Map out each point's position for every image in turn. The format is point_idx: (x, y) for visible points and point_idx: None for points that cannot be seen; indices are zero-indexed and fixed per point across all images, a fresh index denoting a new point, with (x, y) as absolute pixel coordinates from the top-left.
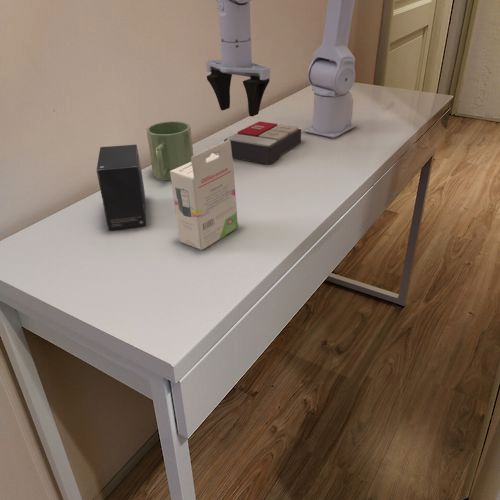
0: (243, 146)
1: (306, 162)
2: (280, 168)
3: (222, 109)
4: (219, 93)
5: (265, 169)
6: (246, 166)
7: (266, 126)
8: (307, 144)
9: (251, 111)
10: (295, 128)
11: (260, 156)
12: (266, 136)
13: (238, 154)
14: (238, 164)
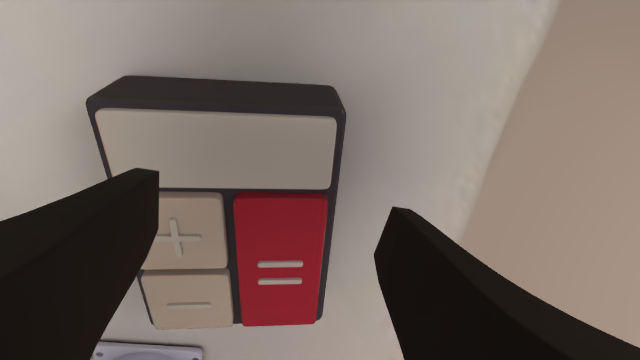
0: (237, 97)
1: (25, 157)
2: (64, 65)
3: (397, 209)
4: (454, 275)
5: (110, 30)
6: (202, 30)
7: (258, 292)
8: (137, 283)
9: (112, 177)
10: (152, 313)
11: (155, 84)
12: (181, 201)
13: (267, 86)
14: (244, 38)
